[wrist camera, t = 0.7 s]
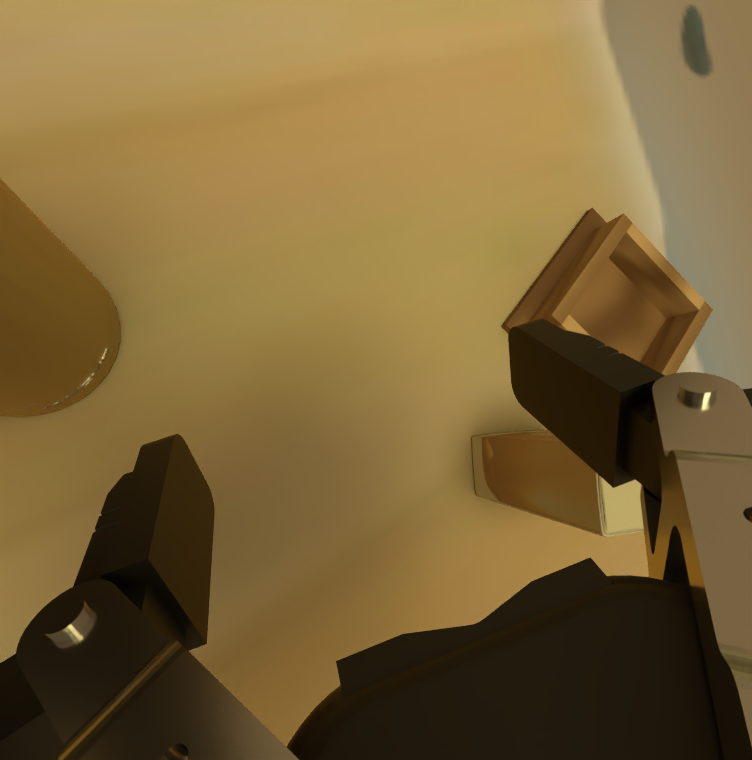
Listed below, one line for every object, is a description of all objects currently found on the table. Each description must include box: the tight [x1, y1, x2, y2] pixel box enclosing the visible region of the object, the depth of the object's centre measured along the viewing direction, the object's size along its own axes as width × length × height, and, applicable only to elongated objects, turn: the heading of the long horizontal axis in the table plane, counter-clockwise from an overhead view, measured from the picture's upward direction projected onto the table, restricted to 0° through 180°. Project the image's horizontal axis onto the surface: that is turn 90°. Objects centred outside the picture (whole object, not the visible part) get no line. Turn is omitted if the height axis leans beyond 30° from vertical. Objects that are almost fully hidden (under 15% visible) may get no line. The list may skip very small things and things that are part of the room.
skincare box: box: [472, 430, 644, 537], centre depth 27 cm, size 6×4×12 cm
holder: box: [502, 208, 713, 376], centre depth 35 cm, size 13×13×3 cm
